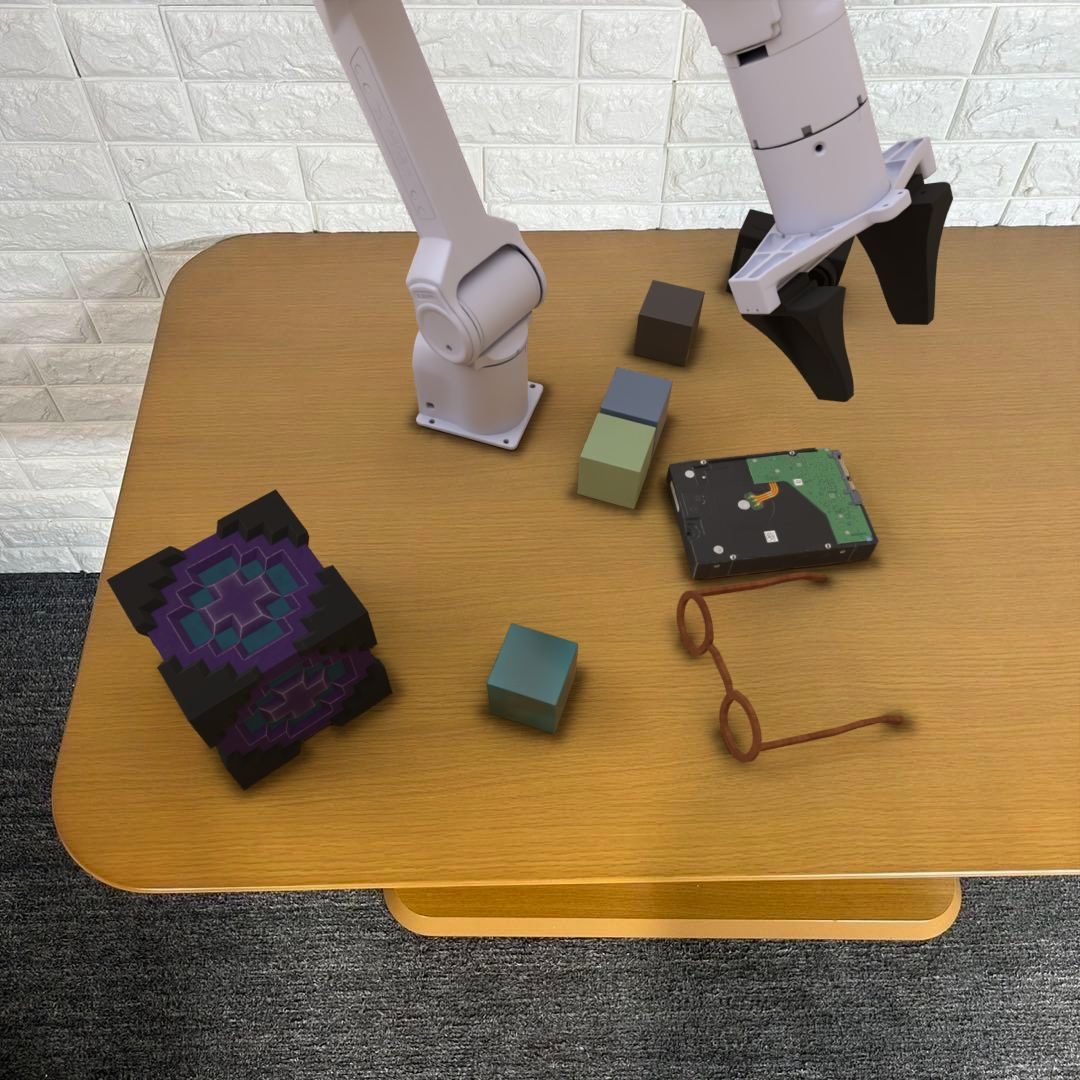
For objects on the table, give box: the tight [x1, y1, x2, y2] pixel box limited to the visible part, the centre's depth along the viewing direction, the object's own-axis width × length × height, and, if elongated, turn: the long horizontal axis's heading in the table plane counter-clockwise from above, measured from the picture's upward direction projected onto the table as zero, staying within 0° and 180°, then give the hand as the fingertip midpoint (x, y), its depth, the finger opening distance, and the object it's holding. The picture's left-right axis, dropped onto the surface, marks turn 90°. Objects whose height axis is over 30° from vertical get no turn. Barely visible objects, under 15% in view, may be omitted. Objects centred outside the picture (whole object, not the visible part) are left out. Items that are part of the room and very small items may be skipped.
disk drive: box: [665, 447, 880, 580], centre depth 73 cm, size 10×3×15 cm
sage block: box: [577, 412, 656, 510], centre depth 75 cm, size 5×5×5 cm
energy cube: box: [106, 489, 394, 791], centre depth 61 cm, size 12×12×12 cm
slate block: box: [599, 366, 674, 461], centre depth 78 cm, size 5×5×5 cm
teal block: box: [486, 622, 579, 735], centre depth 64 cm, size 5×5×5 cm
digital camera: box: [725, 208, 856, 293], centre depth 87 cm, size 10×5×7 cm, turn 67°
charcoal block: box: [633, 279, 706, 368], centre depth 84 cm, size 5×5×5 cm
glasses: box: [676, 571, 906, 764], centre depth 65 cm, size 13×13×5 cm
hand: (876, 358), depth 51 cm, fingers open, 7 cm apart
